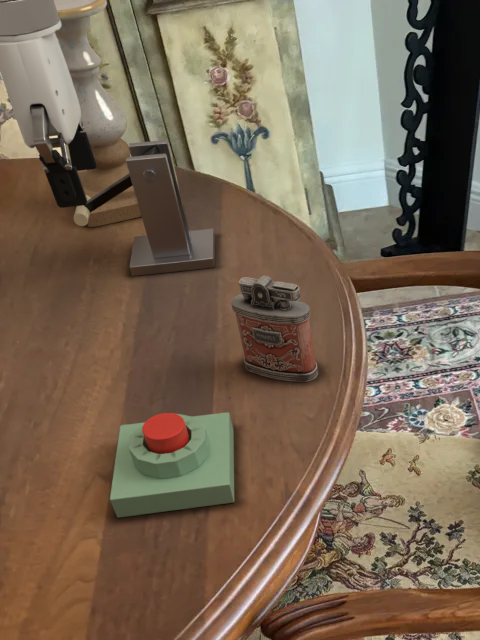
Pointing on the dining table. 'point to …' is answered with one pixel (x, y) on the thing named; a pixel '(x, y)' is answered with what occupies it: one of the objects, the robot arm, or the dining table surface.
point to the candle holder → (96, 113)
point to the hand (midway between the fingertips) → (78, 186)
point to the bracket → (164, 217)
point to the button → (165, 433)
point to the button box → (175, 469)
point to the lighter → (275, 330)
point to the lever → (104, 196)
